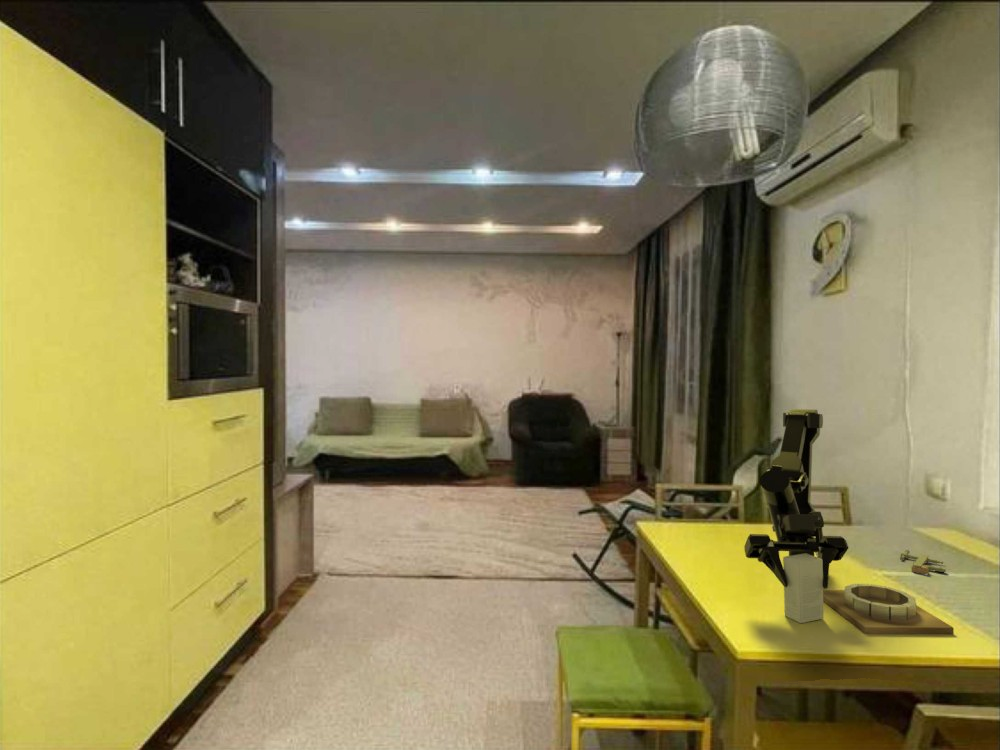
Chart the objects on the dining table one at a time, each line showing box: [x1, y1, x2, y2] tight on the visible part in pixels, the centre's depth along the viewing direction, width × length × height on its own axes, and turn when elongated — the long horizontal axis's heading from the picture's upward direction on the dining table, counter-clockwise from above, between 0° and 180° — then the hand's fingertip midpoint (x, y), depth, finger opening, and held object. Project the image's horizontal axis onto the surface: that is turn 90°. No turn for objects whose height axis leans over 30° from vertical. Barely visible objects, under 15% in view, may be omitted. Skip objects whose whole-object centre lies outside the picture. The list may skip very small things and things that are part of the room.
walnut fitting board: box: [823, 589, 955, 635], centre depth 116 cm, size 18×16×1 cm
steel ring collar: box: [843, 583, 917, 620], centre depth 116 cm, size 12×12×2 cm
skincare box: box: [782, 553, 825, 624], centre depth 114 cm, size 6×4×12 cm
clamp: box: [899, 549, 947, 575], centre depth 143 cm, size 15×2×10 cm
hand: (806, 587), depth 113 cm, fingers closed on skincare box, 7 cm apart
